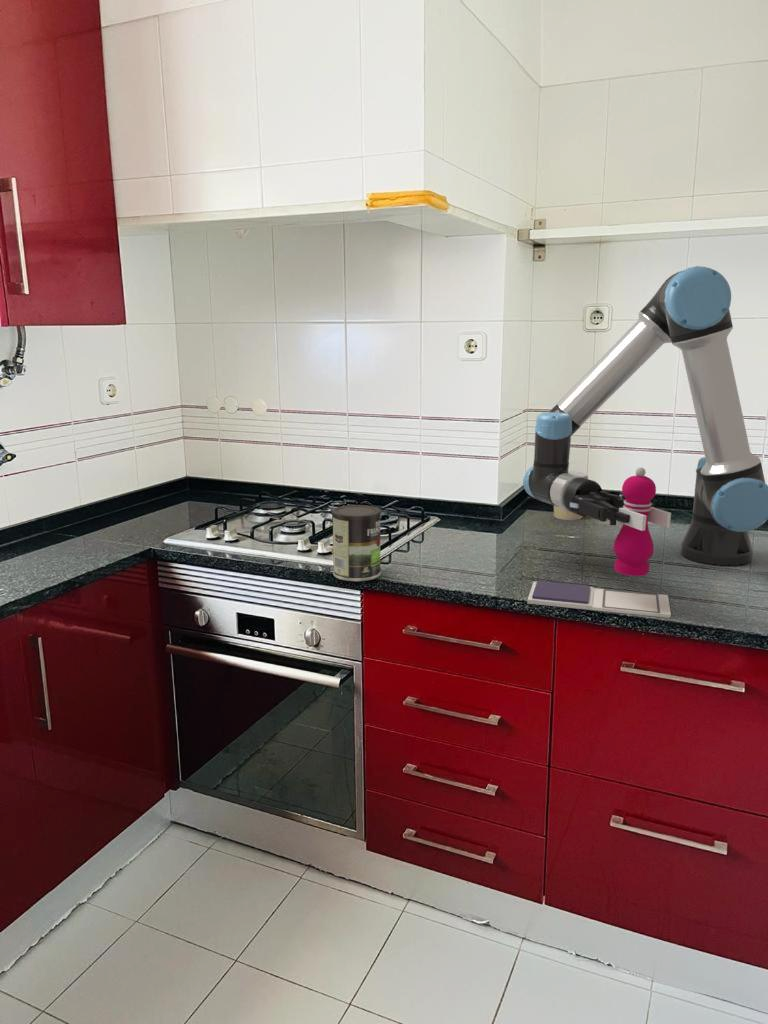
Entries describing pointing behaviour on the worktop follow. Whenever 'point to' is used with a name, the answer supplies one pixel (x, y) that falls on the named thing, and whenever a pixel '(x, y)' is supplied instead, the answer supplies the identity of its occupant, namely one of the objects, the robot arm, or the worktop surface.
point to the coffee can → (356, 542)
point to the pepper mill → (630, 541)
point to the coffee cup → (561, 512)
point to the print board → (631, 602)
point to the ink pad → (561, 595)
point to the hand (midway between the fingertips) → (656, 521)
